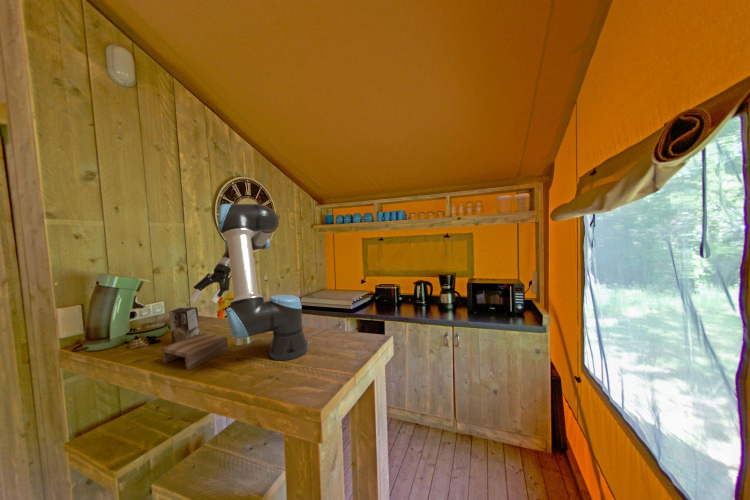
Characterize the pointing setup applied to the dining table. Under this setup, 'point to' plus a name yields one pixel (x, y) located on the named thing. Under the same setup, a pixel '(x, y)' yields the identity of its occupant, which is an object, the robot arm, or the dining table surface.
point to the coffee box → (184, 323)
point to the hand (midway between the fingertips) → (202, 301)
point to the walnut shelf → (196, 349)
